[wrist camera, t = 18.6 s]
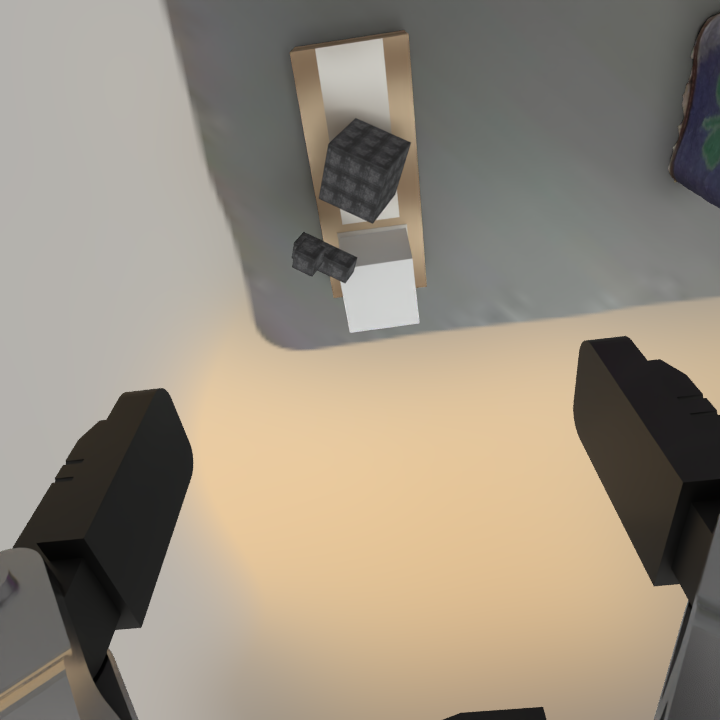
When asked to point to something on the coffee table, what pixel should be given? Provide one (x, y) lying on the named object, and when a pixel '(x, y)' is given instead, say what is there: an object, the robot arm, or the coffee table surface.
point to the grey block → (380, 281)
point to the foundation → (369, 104)
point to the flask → (701, 119)
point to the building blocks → (353, 191)
